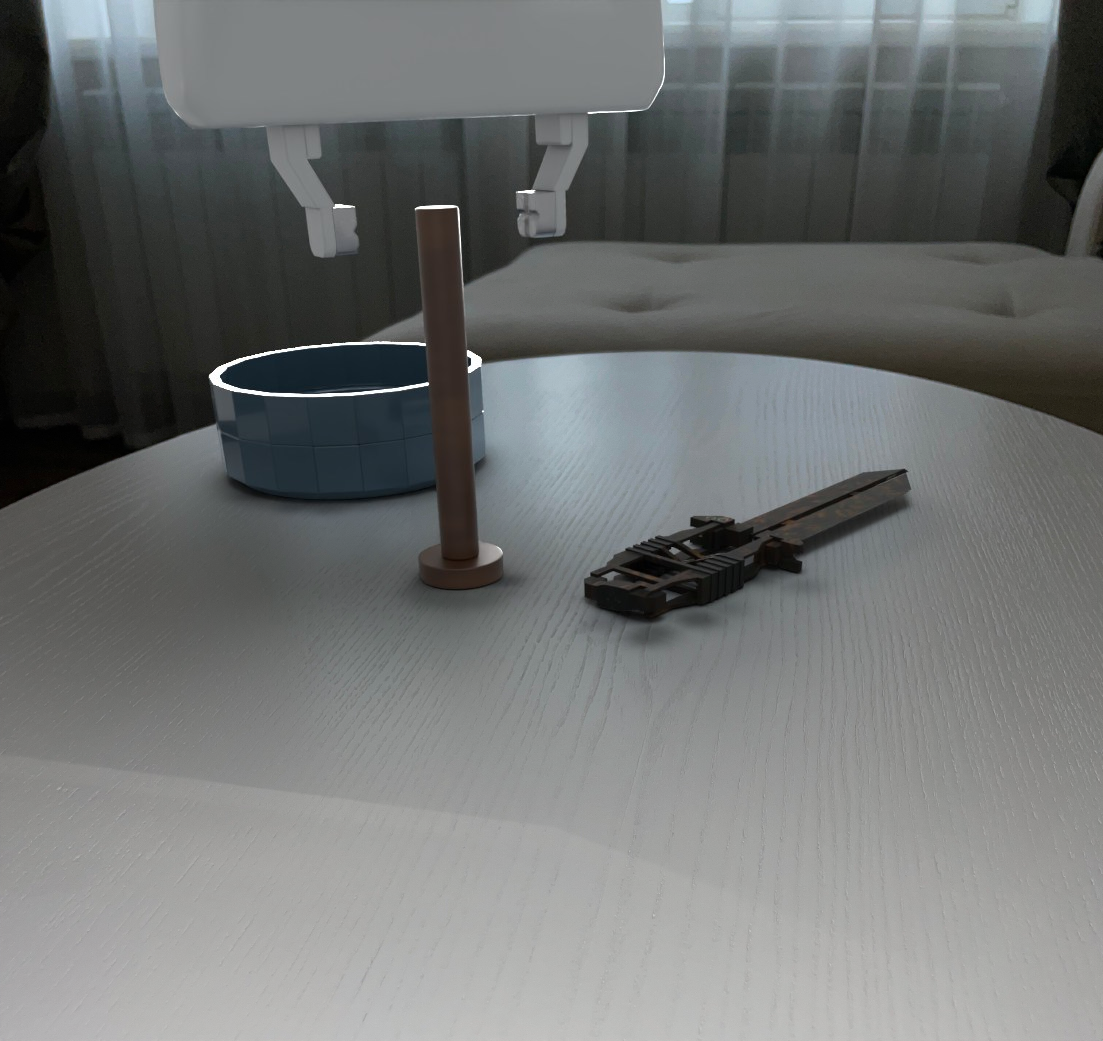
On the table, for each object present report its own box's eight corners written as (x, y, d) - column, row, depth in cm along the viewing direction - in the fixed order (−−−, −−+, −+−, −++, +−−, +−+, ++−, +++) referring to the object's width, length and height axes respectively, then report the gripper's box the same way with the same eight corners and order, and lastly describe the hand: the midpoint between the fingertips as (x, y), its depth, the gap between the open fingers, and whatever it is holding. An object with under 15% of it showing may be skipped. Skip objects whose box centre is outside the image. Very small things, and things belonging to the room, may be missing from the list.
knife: (884, 478, 67) (886, 454, 66) (983, 502, 63) (987, 476, 62) (553, 589, 53) (552, 560, 52) (652, 629, 49) (652, 598, 48)
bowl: (174, 495, 68) (155, 391, 65) (299, 427, 81) (288, 339, 78) (432, 511, 64) (423, 401, 61) (518, 437, 77) (514, 344, 74)
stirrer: (407, 586, 54) (372, 211, 46) (437, 557, 57) (409, 203, 49) (488, 592, 53) (466, 210, 45) (514, 562, 56) (497, 202, 48)
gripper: (611, -139, 48) (614, 222, 55) (106, -171, 40) (182, 260, 46) (700, -170, 43) (691, 230, 50) (146, -215, 35) (224, 275, 41)
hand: (443, 245), depth 48 cm, fingers open, 8 cm apart
